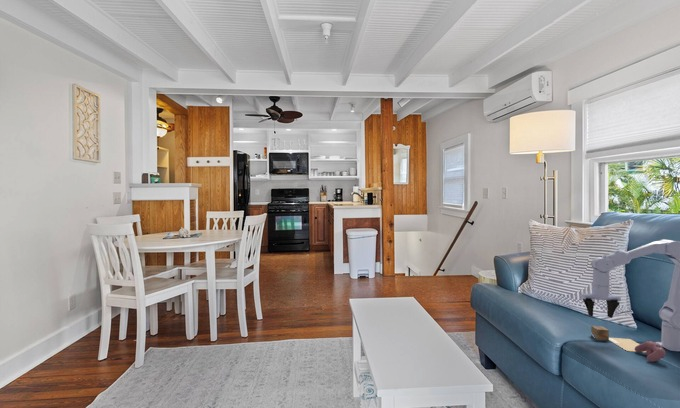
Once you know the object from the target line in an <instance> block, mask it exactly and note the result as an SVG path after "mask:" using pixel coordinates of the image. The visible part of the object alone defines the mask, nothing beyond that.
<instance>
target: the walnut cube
mask: <svg viewBox="0 0 680 408" xmlns="http://www.w3.org/2000/svg"><path fill="white" fill-rule="evenodd" d="M591 332H592V334H593V335H594V337H595V338H596V340H597V341H609V338H610V330H609V329H607V328H606V327H604V326H599V325H591V326H590V333H591ZM594 337H593V338H594ZM595 338H594V339H595ZM609 342H610V341H609Z"/></svg>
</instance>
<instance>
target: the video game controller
mask: <svg viewBox="0 0 680 408" xmlns="http://www.w3.org/2000/svg"><path fill="white" fill-rule="evenodd" d="M639 344H640V345H638V346H636V347H635V351H636V352H635V353H643V352H644V351H646V353H645V355H647V356H646V361H647V362H651V363H653V362H657V361H659V360H661V359H664V358H665V356H666V350H665V349H664V347H662V346H660V345H659V344H657V343H656V341H655V342H654V341H650V340H647V341H644V342H643V343H639Z"/></svg>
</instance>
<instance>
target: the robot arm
mask: <svg viewBox="0 0 680 408" xmlns="http://www.w3.org/2000/svg"><path fill="white" fill-rule="evenodd" d="M652 254H660V255H663V256H666V257H667V258H669V260H671V262H673V263H674V269H673V272H672V277H671V281H670V286H669V287H670V288H669V293H668V297H667V300H666V301H665V302H663V305H662V307H661V308H660V309H659V310H658V316H659V318H660V319H661V320H662V321H661V341H655V343H657V344H659V345H660V346H661V347H662V348H663V349H664V348H665V349H666V350H667V351H670V352H671V351H672V352H680V240H672V239H664V238H662V239H660V240H655V241H652V242H650V243H647V244H643V245H641V246H638V247H636V248H634V249H631V250H628V251H625V250H622V249H621V250H619V249H617V250H614V252H613V253H610V254H607V255H606V254H603V255H602V257H600V256H598V257H595V258H593V259H592V261H591V262H590V265H591V267H592V270H593V271H592V293H581V294H580V299H582V301H583V303H584V306H585V308H586V311H587V315H588V316H589V317H594V306H595V301H594V300H598V301H606V306H607V307H606V308H607V317H609V318H610V319H613V316H614V314H615V311H616V309H617V308H618V307H619V306H620V302H621V299H622V298H621V296H620V295H613V294H610V272H611V271H612V269H615V268H617V267H621V266H624V265H628V264H631V261H632V260H633V259H637V258H641V257H644V256H648V255H652Z"/></svg>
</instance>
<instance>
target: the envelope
mask: <svg viewBox="0 0 680 408" xmlns="http://www.w3.org/2000/svg"><path fill="white" fill-rule="evenodd" d="M609 342H611V343H612V344H614V345H616V346H617V347H619V348H621V349H622V348H623V349H622V350H624V351H625V350H626V351H625V352H631V353H633V352H634V353H637V352H636V351H635V347H636V346H638V345H640V344H641V343H638V342H636V341H634V340H633V339H630V338H621V337H609ZM642 353H645V354H646V351H644V352H642Z"/></svg>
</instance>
